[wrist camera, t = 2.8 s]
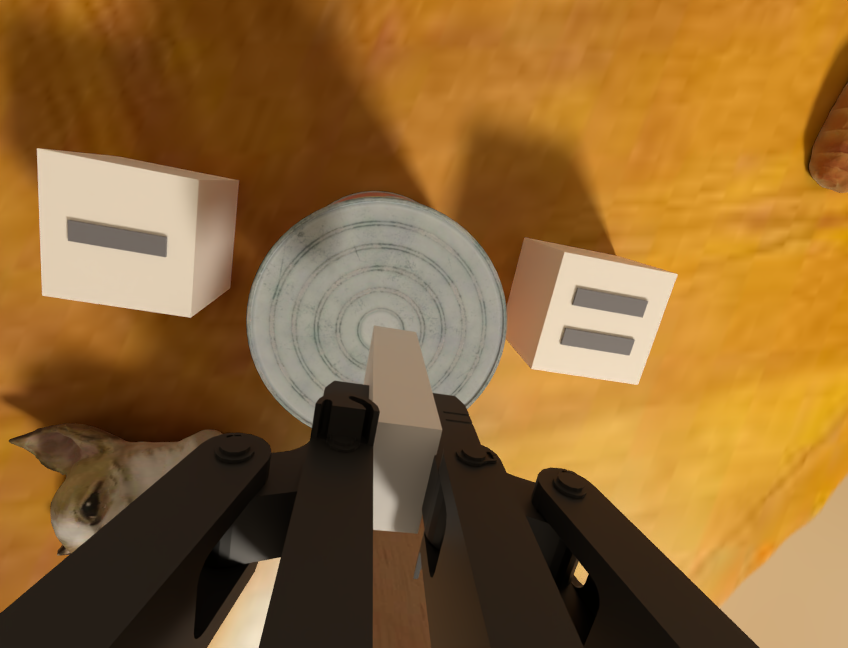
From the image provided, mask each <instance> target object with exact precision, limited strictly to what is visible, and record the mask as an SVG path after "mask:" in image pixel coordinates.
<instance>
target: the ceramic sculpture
mask: <svg viewBox="0 0 848 648" xmlns="http://www.w3.org/2000/svg"><path fill="white" fill-rule="evenodd" d="M218 435H222V433H221V432H220V431H217V430H202V431H199V432H197V433H196V434H194V435H192V436H190V437H187V438H185V439H183V440H181V441H178V442H144V441H142V442H128V441H125V440H123V439H122V438H120V437H118V436H115V435H113V434H110V433H108V432H106V431H104V430H101V429H99V428H96V427H93V426H90V425H84V424H75V423H71V424H70V423H64V424H59V425H52V426H48V427H44V428H40V429H37V430H35V431H33V432H30V433H27V434H25V435H22V436H18V437H15V438H12V439H10V440H9V442H10V443H12V444H14V445H17V446H19V447H22V448H24V449H26V450H28V451H29V452H31V453H32V454H34V455H35V456H36V458H37V459H39V461H40V462H41V464H43V465H44V466H45V467H47V468H48V469H51V470H53V471H57V472H60V473H61V474H62V475H64V474H65V475H66V479H65V481H64V482H63V484H62V485H61V486H60V488H59V489H58V490H57V492H56V494H55V496H54V498H53V500H52V502H51V523H52V526H53V529H54V531H55V534H56V536H57V538H58V539H59V541H60V542H61V543H62V544H63V545H62V546H61V547H60V549H59V550H58V553H57V555H70V554H71V553H72V552H74V551H75V550H76V549H77V548H78V547H80V546H81V545H82V544H83V543H84V542H85V541H87V540H88V539H89V538H90V537H91V536H93V535H94V534H95V533H96V532H97V531H98V530H100V529H101V528H102V527H103V526H104V525H106V524H107V523H108V522H109V521H110V520H111V519H113V518H114V517H115V516H116V515H117V514H119V513H120V512H121V511H122V510H123V509H125V508H126V507H127V506H128V505H129V504H130V503H132V502H133V501H134V500H135V499H136V498H138V497H139V496H140V495H141V494H142V493H143V492H145V491H146V490H147V489H148V488H149V487H151V486H152V485H153V484H154V483H155V482H156V481H158V480H159V479H160V478H161V477H162V476H164V475H165V474H166V473H167V472H168V471H169V470H171V469H172V468H173V467H174V466H175V465H177V464H178V463H179V462H180V461H181V460H183V459H184V458H185V457H186V456H187V455H188V454H190V453H191V452H192V451H193V450H194V449H196V448H197V447H198V446H199V445H200V444H201V443H203V442H205V441H206V440H208V439H210V438H212V437H214V436H218Z"/></svg>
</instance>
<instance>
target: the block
mask: <svg viewBox="0 0 848 648" xmlns="http://www.w3.org/2000/svg"><path fill="white" fill-rule="evenodd" d="M423 533H424V523H423V515H422V518H421V522H420V526H419V530H418V534H415V533H404V532H393V531H382V530H373V648H431V642H430V633H429V625H428V616H427V607H426V599H425V590H424V582H423V573H422V569H421V570H420V574H419V578H418V579H413V577H414V570H415V566H416V562H417V558H418V554H419V549H420V545H421V541H422V537H423Z"/></svg>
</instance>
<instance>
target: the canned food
mask: <svg viewBox="0 0 848 648" xmlns="http://www.w3.org/2000/svg"><path fill="white" fill-rule="evenodd" d="M246 325H247V337H248V344H249V348H250V352H251V356H252V359H253V361H254V364H255V367H256V369H257V371H258V373H259V375H260V377H261V379H262V381H263V382H264V384H265V385H266V387H267V389H268V390H269V391H270V393H271V394H272V395H273V396H274V398H275V399H276V400H277V401H278V402H279V403H280V404H281V405H282V406H283V407H284V408H285V409H286V410H287V411H288V412H289V413H290V414H291V415H293V416H294V417H295V418H297V419H298V420H300V421H301V422H302V423H304V424H306V425H307V426H309V427H311V428H312V424H313V417H314V410H315V404H316V402H317V401H318V399H319V398H320V397H322V396H323V394H324V390H325V387H326V386H328V385H329V384H330V383H332V382H333V381H341V382H349V383H356V384H364V378H365V373H366V367H367V361H368V356H369V350H370V344H371V339H372V333H373V327H374V325H375V326H381V327H387V328H394V329H400V330H406V331H412V332H416V333H417V337H418V341H419V344H420V348H421V352H422V356H423V359H424V363H425V367H426V371H427V374H428V378H429V382H430V386H431V389H432V393H438V394H445V395H452V396H456V397H457V398H458V399H459V400H460V401H461V402H462V403H463V404H464V405H465V406H466V409H468V408H469V407H470V406H471V405H472V404H473V403H474V402H475V401H476V399H477V398H478V397H479V396H480V395H481V394H482V392H483V391H484V389H485V388H486V386H487V385H488V384H489V382H490V380H491V378H492V377H493V375H494V373H495V371H496V368H497V366H498V364H499V361H500V358H501V355H502V352H503V348H504V344H505V338H506V331H507V310H506V302H505V296H504V292H503V288H502V285H501V281H500V279H499V276H498V274H497V271H496V269H495V267H494V265H493V263H492V262H491V260H490V258H489V257H488V255H487V254H486V252H485V251H484V249H483V248H482V247H481V245H480V244H479V243H478V242H477V241H476V239H475V238H474V237H473V236H472V235H471V234H470V233H469V232H468V231H467V230H465V229H464V228H463V227H462V226H460V225H459V224H458V223H457V222H455V221H454V220H452V219H451V218H449V217H448V216H446V215H444V214H442V213H440V212H438V211H437V210H435V209H433V208H430V207H427V206H425V205H422V204H420V203H418V202H416V201H414V200H412V199H410V198H408V197H405V196H402V195H399V194H395V193H391V192H384V191H366V192H359V193H355V194H351V195H348V196H345V197H343V198H341V199H338V200H336V201H334V202H333V203H331V204H330V205H328V206H327V207H324V208H322V209H320V210H318V211H316V212H314V213H312V214H310V215H309V216H307V217H305V218H304V219H302V220H301V221H299V222H298V223H297V224H295V225H294V226H293V227H291V228H290V229H289V230H288V231H287V232H286V233H285V234H284V235H283V236H282V237H280V239H279V240H278V241H277V242H276V243H275V244H274V246H273V247H272V248H271V249H270V251H269V252H268V254H267V255H266V257H265V258H264V260H263V262H262V263H261V265H260V267H259V269H258V271H257V273H256V276H255V278H254V281H253V283H252V287H251V290H250V294H249V299H248V305H247V316H246Z"/></svg>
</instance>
